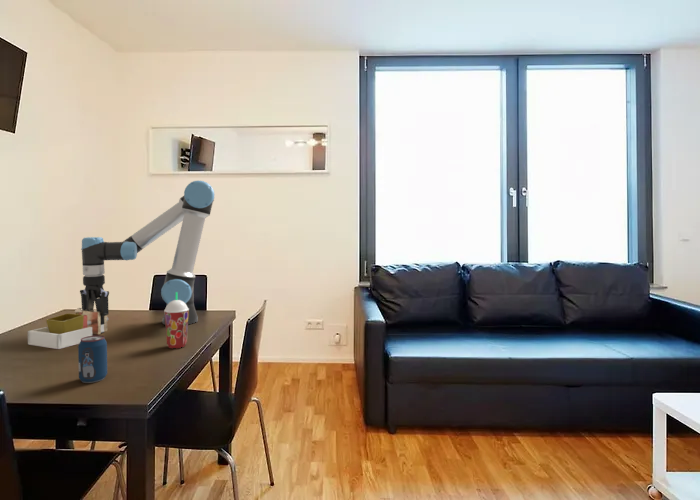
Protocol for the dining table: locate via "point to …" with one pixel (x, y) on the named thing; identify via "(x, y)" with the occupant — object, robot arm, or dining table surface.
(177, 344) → the smoothie
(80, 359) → the soda can
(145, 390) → the dining table surface
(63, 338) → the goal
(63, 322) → the flower pot
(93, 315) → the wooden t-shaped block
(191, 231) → the robot arm
